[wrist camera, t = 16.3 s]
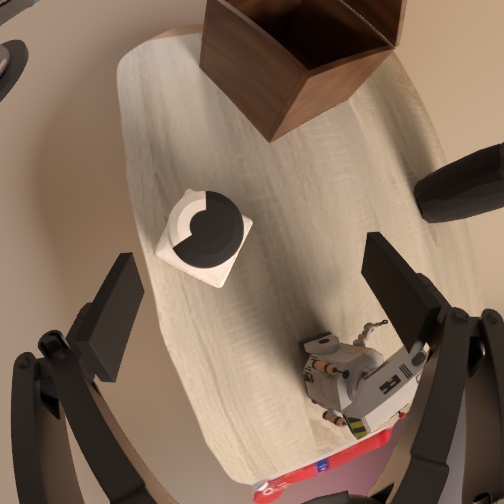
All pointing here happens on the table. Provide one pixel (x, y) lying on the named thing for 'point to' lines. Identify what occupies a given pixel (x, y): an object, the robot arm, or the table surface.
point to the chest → (288, 57)
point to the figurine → (359, 380)
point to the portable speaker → (464, 187)
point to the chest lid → (382, 16)
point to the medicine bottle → (203, 236)
